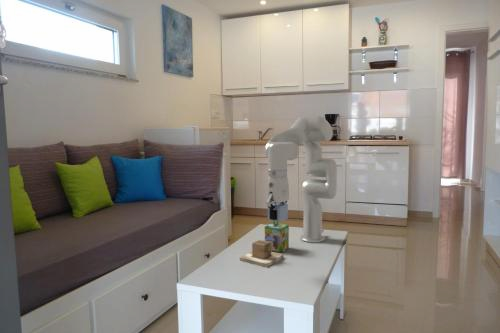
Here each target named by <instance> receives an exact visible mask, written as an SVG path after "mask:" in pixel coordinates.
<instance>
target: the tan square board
mask: <svg viewBox="0 0 500 333" xmlns="http://www.w3.org/2000/svg"><path fill="white" fill-rule="evenodd" d="M282 259H284V254H281V253H279V252H274V251H271V256H269V257H267V258H265V259H262V258H257V257H253V256H252V251H251V252H248V253H246V254H245V255H242V256H240V257H239V261H241V262H244V263H247V264H248V263H249V264H253V265H257V266H261V267H265V268H268V267H269V266H271V265H273V264H275V263H277V262H279V261H280V260H282Z"/></svg>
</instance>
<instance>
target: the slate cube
mask: <svg viewBox="0 0 500 333" xmlns="http://www.w3.org/2000/svg"><path fill="white" fill-rule="evenodd" d="M273 206H274V204H273ZM266 207H267V221H272V222H273V221H275V222H277V221H278V223H279V222H280V223H281V222H284V221H286V220H288V219H289V204H288V203H286V204H282V203H277V207H276V210H277V220H271V219H270V210H269V207H268V205H267V204H266Z"/></svg>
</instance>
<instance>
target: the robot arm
mask: <svg viewBox="0 0 500 333" xmlns="http://www.w3.org/2000/svg"><path fill="white" fill-rule="evenodd" d="M333 134H334V131H333V128H332V125H331V124H330V122H328V120H327V119H325V118H324V117H323V116H320V115H303V116H300V117H298V118H297V119H296V120H295V121H294V123H292V125H291V127H290V128H289V129H286V130H284V131H281V132H279V133H277V134H274V135H273V136H272V137H271V138H270V139H269V140H267V141H268V142H267V143H266V145H265V148H264V154H265V157H266V158H267V160H268V162H267V163H268V165H267V167H268V168H267V169H268V172H267V175H268V181H267V190H266V191H267V192H266V196H267V197H266V198H267V199H266V201H265V202H266V206H267V205H268V207H269V210H270V219H271V220H270V221H272V220H277V210H276V207H277V203H282V204H288V201H289V199H290V187H289V179H288V161H293V160H296V159H297V158H298V157H299V155H300V144H303V147H304V149H305V150H304V153H305V154H304V156H305V157H304V160H305V161H304V162H305V163H304V169H305V170H304V172H305V174H306V175H307V176H309V177H312V178H311V179H310V178H309V179H305V180H304V181H303V182H302V184H301V191H302V192H301V194H302V199H303V218H302V219H303V224H302V225H303V228H302V231H303V234H301V235H300V237H299V239H300V240H301V241H303V242H306V243H313V244H315V243H322V242H324V241H325V239H326V237H325V236H324V235H322V234H323V233H324V231H325V229H323V206H322V203H321V201H320V199H325V200H333V199H335V197H336V195H337V188H338V186H337V184H338V182H337V180H338V168H337V167H338V166H337V163H336V160H334V159H333V158H324V157H323V147H322V145H321V144H320V143H319V142H330V141H331V139H332V138H333ZM298 145H299V146H298ZM313 177H314V178H315V177H316V178H317V179H316V178H315V179H314V178H313ZM318 178H325V179H318ZM273 204H274V206H273Z"/></svg>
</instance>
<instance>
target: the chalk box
mask: <svg viewBox="0 0 500 333" xmlns="http://www.w3.org/2000/svg"><path fill="white" fill-rule="evenodd" d="M289 226H290V225H289V224H283V223H279V221H272V223H269V224H267V225H266V226H264V241H269V242H271V252H274V253H280V254H281V253H283V252H284V251H286V250H288V249H289V247H290V245H289V244H290V243H289V238H290V234H289V232H290V227H289Z"/></svg>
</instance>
